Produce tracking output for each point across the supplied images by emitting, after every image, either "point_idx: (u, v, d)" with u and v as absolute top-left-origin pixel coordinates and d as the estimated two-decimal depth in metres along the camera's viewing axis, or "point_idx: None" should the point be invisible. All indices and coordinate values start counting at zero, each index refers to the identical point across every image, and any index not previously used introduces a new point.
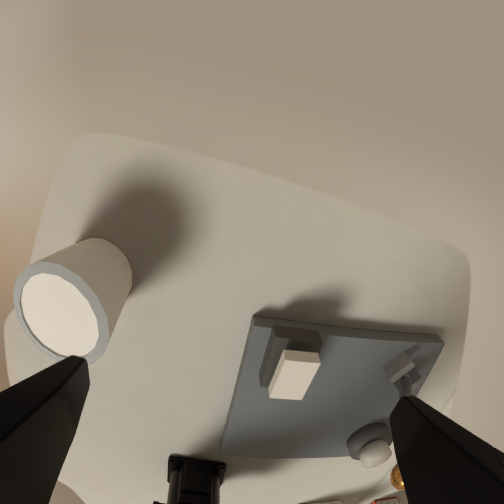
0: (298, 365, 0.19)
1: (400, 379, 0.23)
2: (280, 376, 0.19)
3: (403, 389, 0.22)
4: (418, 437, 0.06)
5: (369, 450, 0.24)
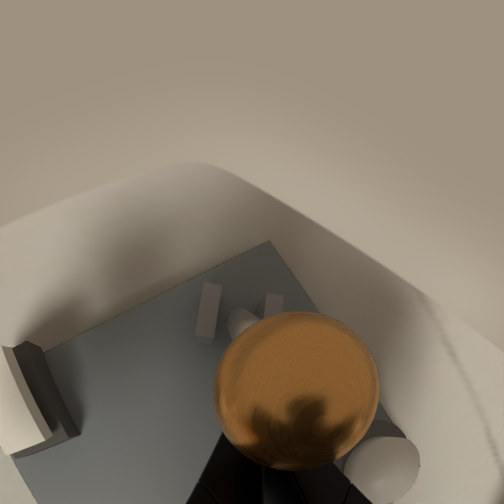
0: None
1: (226, 323, 0.13)
2: None
3: (228, 322, 0.12)
4: None
5: (353, 474, 0.10)
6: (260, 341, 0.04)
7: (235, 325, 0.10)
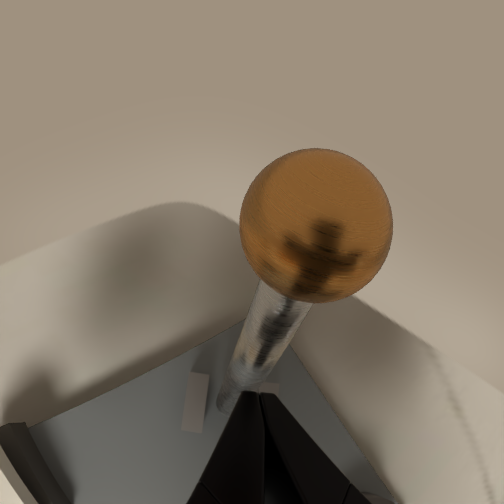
0: None
1: (217, 403, 0.11)
2: None
3: (220, 389, 0.10)
4: None
5: None
6: None
7: None
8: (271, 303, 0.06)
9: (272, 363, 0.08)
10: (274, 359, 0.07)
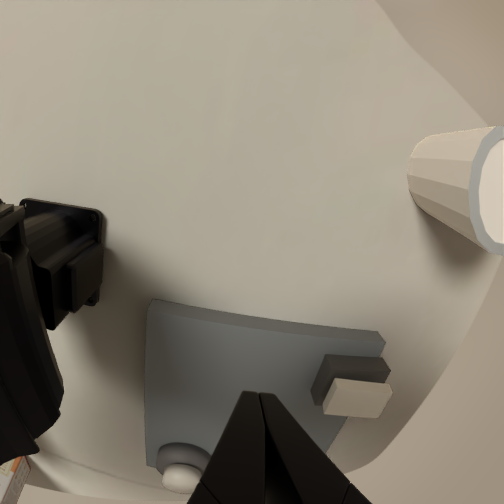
0: (381, 404, 0.17)
1: None
2: (371, 393, 0.17)
3: None
4: None
5: (194, 475, 0.20)
6: None
7: None
8: None
9: None
10: None
